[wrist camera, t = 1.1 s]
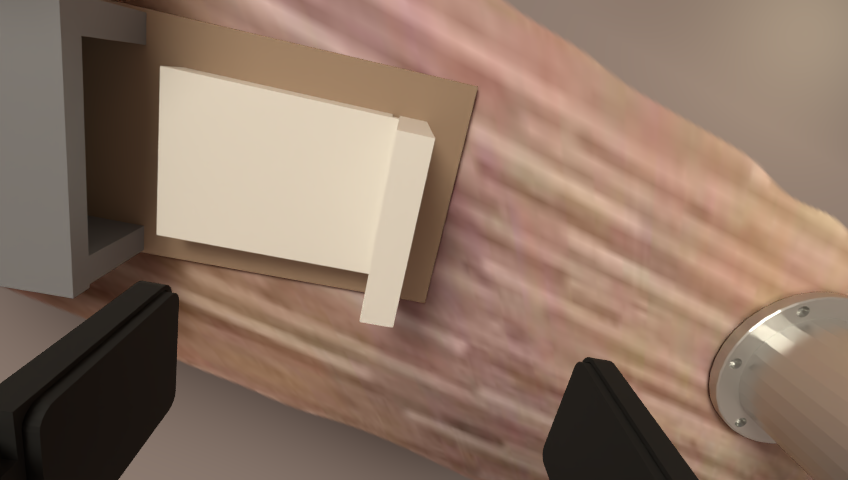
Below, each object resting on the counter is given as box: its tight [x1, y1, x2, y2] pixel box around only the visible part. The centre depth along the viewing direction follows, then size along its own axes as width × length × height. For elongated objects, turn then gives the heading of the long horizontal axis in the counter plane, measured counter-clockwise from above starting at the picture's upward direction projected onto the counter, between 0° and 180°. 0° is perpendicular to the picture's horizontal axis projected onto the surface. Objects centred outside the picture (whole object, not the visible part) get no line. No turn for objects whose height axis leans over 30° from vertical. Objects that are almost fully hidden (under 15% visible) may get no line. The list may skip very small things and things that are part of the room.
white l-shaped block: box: [157, 66, 435, 328], centre depth 23 cm, size 14×9×8 cm, turn 77°
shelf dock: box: [0, 0, 478, 303], centre depth 23 cm, size 26×14×7 cm, turn 78°
